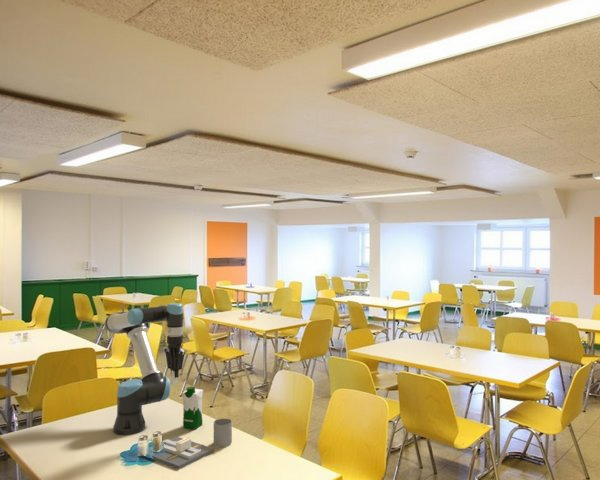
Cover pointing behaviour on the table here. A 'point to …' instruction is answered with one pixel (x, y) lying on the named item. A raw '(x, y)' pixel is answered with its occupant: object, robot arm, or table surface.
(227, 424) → the cup
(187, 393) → the milk carton
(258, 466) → the table surface
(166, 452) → the console
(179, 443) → the fader
